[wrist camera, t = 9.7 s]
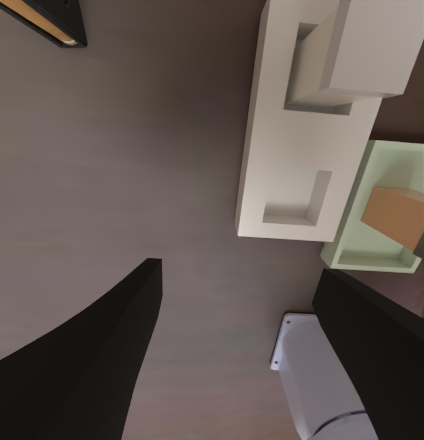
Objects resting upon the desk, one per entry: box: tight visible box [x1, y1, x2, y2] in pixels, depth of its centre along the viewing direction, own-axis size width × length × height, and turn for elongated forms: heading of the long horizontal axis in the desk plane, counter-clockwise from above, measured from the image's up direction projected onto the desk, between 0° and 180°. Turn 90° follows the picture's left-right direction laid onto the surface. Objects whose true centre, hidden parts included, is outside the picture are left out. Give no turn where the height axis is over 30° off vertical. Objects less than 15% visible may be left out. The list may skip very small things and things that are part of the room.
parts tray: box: [320, 140, 424, 273], centre depth 18 cm, size 11×8×2 cm
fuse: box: [284, 0, 424, 108], centre depth 11 cm, size 3×3×6 cm
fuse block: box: [234, 0, 382, 242], centre depth 15 cm, size 15×8×3 cm, turn 176°
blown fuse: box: [360, 186, 424, 260], centre depth 15 cm, size 3×3×6 cm
